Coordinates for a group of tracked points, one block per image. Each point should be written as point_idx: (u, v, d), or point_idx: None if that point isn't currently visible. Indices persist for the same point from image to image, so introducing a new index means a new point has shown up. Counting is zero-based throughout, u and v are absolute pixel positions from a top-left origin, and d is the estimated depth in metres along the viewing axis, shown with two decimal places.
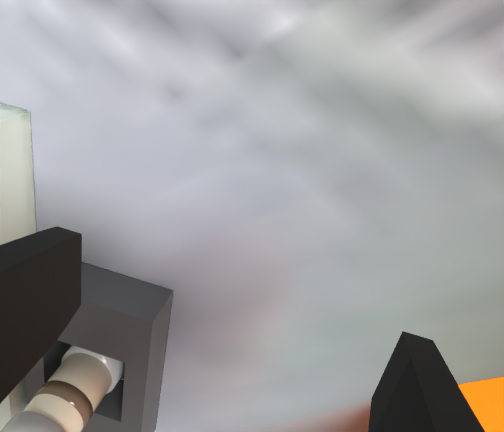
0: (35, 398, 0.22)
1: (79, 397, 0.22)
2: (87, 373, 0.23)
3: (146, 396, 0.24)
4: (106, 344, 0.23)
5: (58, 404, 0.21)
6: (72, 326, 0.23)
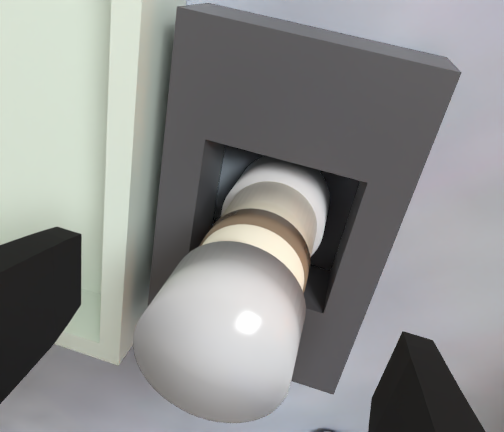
0: (217, 233, 0.11)
1: (295, 237, 0.12)
2: (292, 206, 0.13)
3: None
4: (337, 144, 0.12)
5: (269, 239, 0.11)
6: (273, 110, 0.12)
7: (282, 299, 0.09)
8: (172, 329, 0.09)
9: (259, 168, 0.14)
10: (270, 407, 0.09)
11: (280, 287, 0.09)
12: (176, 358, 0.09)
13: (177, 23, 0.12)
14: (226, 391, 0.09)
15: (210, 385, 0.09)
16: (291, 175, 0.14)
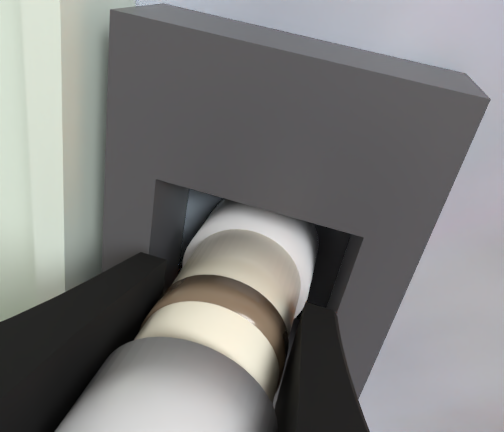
0: (161, 313, 0.08)
1: (268, 314, 0.09)
2: (267, 266, 0.10)
3: None
4: (324, 188, 0.09)
5: (230, 325, 0.08)
6: (240, 144, 0.09)
7: None
8: None
9: (229, 210, 0.11)
10: None
11: (236, 414, 0.06)
12: None
13: (112, 31, 0.09)
14: None
15: None
16: (268, 221, 0.11)
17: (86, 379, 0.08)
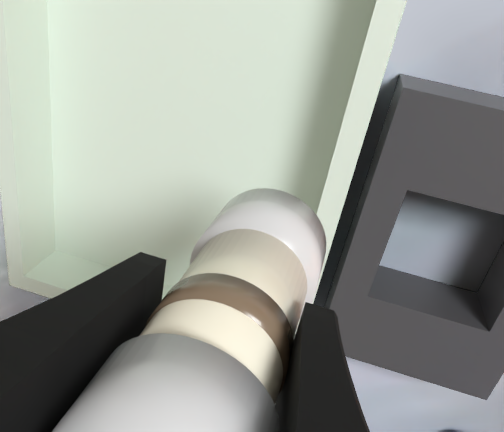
0: (166, 310, 0.08)
1: (272, 314, 0.09)
2: (273, 266, 0.10)
3: None
4: None
5: (233, 323, 0.08)
6: (474, 168, 0.15)
7: None
8: None
9: (236, 210, 0.11)
10: None
11: (237, 411, 0.06)
12: None
13: (400, 100, 0.14)
14: None
15: None
16: (274, 221, 0.11)
17: (86, 379, 0.08)
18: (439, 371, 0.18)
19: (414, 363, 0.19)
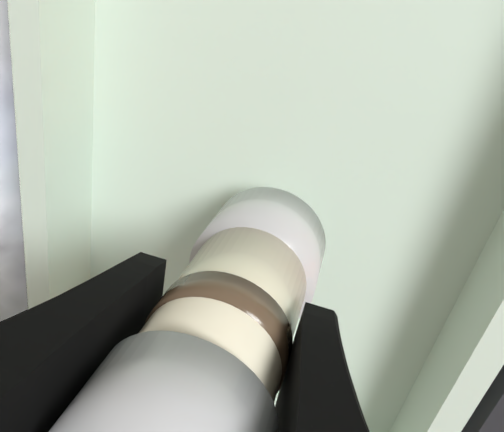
0: (165, 308, 0.08)
1: (271, 311, 0.09)
2: (272, 264, 0.10)
3: None
4: None
5: (232, 321, 0.08)
6: None
7: (236, 429, 0.06)
8: None
9: (235, 208, 0.11)
10: None
11: (235, 408, 0.07)
12: None
13: None
14: None
15: None
16: (274, 219, 0.11)
17: (86, 379, 0.08)
18: None
19: None
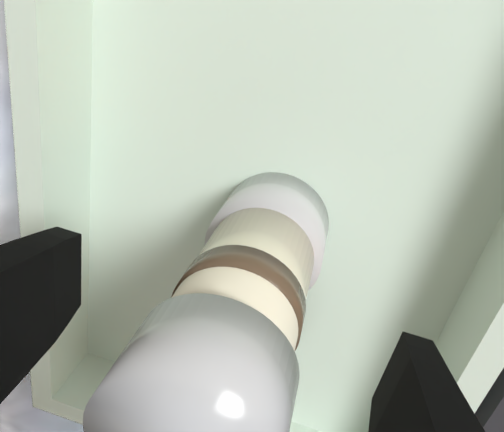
0: (193, 277, 0.09)
1: (288, 279, 0.10)
2: (285, 239, 0.11)
3: None
4: None
5: (255, 286, 0.09)
6: None
7: (268, 372, 0.07)
8: (129, 415, 0.07)
9: (247, 191, 0.12)
10: None
11: (266, 355, 0.07)
12: None
13: None
14: None
15: None
16: (284, 200, 0.12)
17: None
18: None
19: None
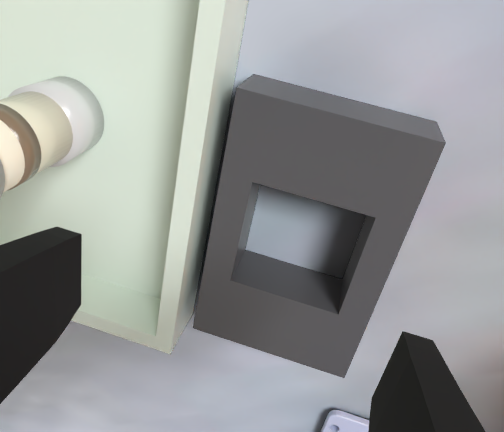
0: None
1: (19, 122, 0.15)
2: (34, 105, 0.16)
3: None
4: (354, 189, 0.16)
5: None
6: (306, 163, 0.16)
7: None
8: None
9: None
10: None
11: None
12: None
13: (236, 99, 0.16)
14: None
15: None
16: (49, 87, 0.17)
17: None
18: (300, 351, 0.20)
19: (278, 343, 0.20)
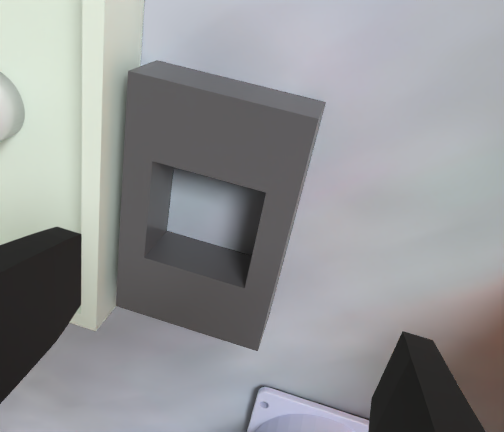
0: None
1: None
2: None
3: (284, 247, 0.19)
4: (243, 165, 0.17)
5: None
6: (198, 141, 0.17)
7: None
8: None
9: None
10: None
11: None
12: None
13: (129, 81, 0.17)
14: None
15: None
16: None
17: None
18: (215, 325, 0.21)
19: (194, 318, 0.21)
